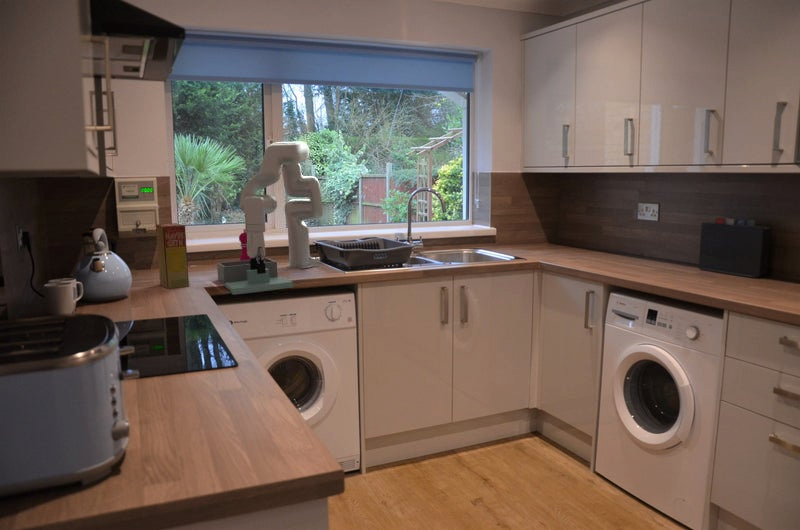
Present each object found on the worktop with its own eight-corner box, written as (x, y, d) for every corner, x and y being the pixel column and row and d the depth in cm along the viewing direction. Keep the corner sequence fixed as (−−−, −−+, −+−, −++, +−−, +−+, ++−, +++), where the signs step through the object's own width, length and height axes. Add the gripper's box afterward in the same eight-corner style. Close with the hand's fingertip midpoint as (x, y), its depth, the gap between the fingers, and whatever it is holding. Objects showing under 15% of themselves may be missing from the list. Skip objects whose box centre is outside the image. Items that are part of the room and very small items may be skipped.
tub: (269, 276, 278) (268, 258, 277) (277, 280, 268) (276, 261, 267) (218, 281, 268) (216, 263, 267) (224, 286, 258) (223, 267, 257)
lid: (282, 281, 265) (281, 264, 264) (293, 287, 253) (292, 269, 252) (225, 288, 254) (223, 270, 253) (233, 294, 242) (231, 275, 241)
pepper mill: (250, 271, 292) (248, 227, 289) (259, 273, 287) (256, 228, 284) (236, 273, 287) (233, 229, 284) (245, 275, 282) (242, 230, 279)
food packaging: (190, 286, 260) (185, 225, 256) (166, 289, 255) (161, 226, 251) (182, 281, 271) (177, 222, 267) (159, 284, 266) (153, 224, 262)
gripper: (240, 227, 255) (243, 269, 258) (251, 231, 240) (254, 276, 243) (258, 225, 259) (261, 267, 262) (271, 229, 244) (273, 273, 246)
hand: (258, 271), depth 252 cm, fingers open, 9 cm apart
